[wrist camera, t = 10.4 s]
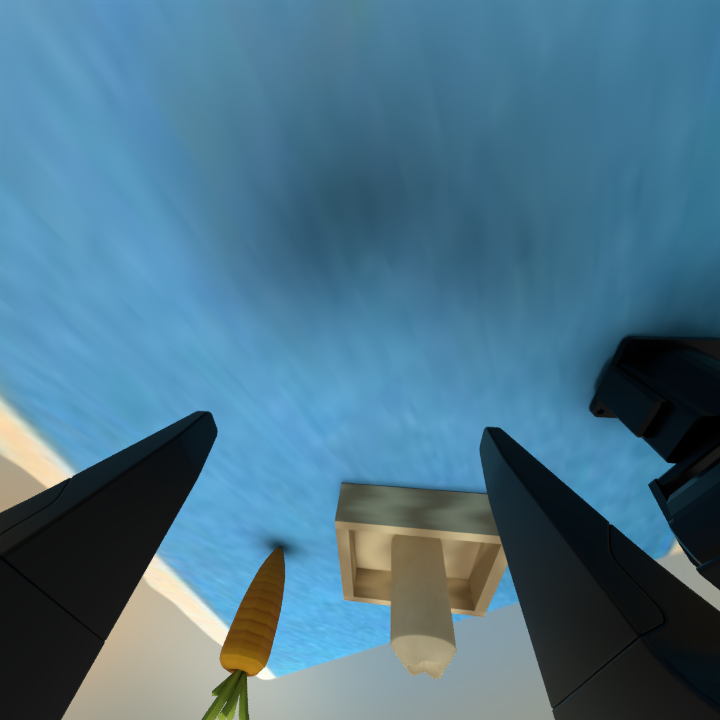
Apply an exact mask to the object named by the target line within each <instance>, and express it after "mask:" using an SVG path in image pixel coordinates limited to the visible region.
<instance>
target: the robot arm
mask: <svg viewBox="0 0 720 720" xmlns="http://www.w3.org/2000/svg"><path fill="white" fill-rule="evenodd" d="M632 343H634V344H633V345H632V346H630V345H631V344H632ZM598 410H599V411H598ZM590 412H591V413H592V414H593V415H594V416H595V417H607V418H618V419H619V420H620V421H621V422H622V423H623V424H624V425H625V426H626V427H627V428H628V429H629V430H630V431H631V432H632V433H633V434H634V435H635V436H637V437H640V438H643V439H644V440H645V441H646V442H647V443H648V444H649V445H650V446H651V447H652V448H653V449H654V450H655V451H656V452H657V453H658V454H659V455H660V456H661V457H662V458H663V459H664V460H665V461H666V462H667V463H676V464H675V465H674V466H673V467H672V468H670V469H669V470H668V471H667V472H666V473H664V474H663V475H662V476H661V477H660V478H658V479H654V480H653V481H652V482H651V483H649V484H648V486H649V488H650V490H651V491H652V493H653V495H654V497H655V499H656V501H657V503H658V505H659V507H660V509H661V510H662V512H663V514H664V516H665V518H666V520H667V522H668V524H669V527H670V529H671V531H672V532H673V534H674V535H675V537H676V539H677V541H678V543H679V545H680V546H681V548H682V549H683V551H684V552H685V554H686V555H687V557H688V558H689V560H690V561H691V562H692V564H693V565H695V566H696V567H697V568H696V570H697V571H698V572H699V574H700V575H702V576H703V577H704V578H705V579H706V580H708V581H709V582H710V583H712V584H713V585H714V586H715V587H716V588H718V589H719V590H720V338H687V337H640V336H632V337H628V338H626V339H625V340H623V342H622V343H621V345H620V347H619V349H618V351H617V353H616V355H615V358H614V360H613V362H612V364H611V366H610V368H609V370H608V372H607V374H606V376H605V378H604V380H603V383H602V385H601V387H600V389H599V391H598V393H597V395H596V397H595V399H594V401H593V403H592V405H591V408H590ZM217 432H218V431H217V427H216V424H215V421H214V418H213V416H212V414H211V413H210V412H209V411H196V412H194V413H192V414H191V415H189V416H187V417H185V418H183V419H181V420H179V421H177V422H175V423H173V424H171V425H170V426H168V427H166V428H164V429H162V430H160V431H158V432H156V433H154V434H152V435H150V436H149V437H147V438H145V439H143V440H141V441H139V442H137V443H135V444H133V445H131V446H129V447H128V448H126V449H124V450H122V451H120V452H118V453H116V454H114V455H112V456H110V457H108V458H107V459H105V460H103V461H101V462H99V463H97V464H95V465H93V466H91V467H89V468H87V469H86V470H84V471H82V472H80V473H78V474H76V475H74V476H73V477H72V478H68V479H66V480H64V481H63V482H61V483H59V484H57V485H55V486H53V487H51V488H49V489H47V490H45V491H43V492H41V493H39V494H37V495H35V496H34V497H32V498H30V499H28V500H26V501H24V502H21V503H19V504H17V505H15V506H13V507H11V508H9V509H7V510H5V511H3V512H1V513H0V720H61V719H62V717H63V715H64V714H65V712H66V710H67V708H68V707H69V705H70V703H71V701H72V699H73V698H74V696H75V694H76V693H77V691H78V689H79V687H80V685H81V684H82V682H83V680H84V678H85V677H86V675H87V673H88V671H89V670H90V668H91V666H92V664H93V663H94V661H95V659H96V657H97V656H98V654H99V652H100V650H101V648H102V647H103V645H104V643H105V640H106V639H107V638H108V636H109V634H110V632H111V630H112V629H113V627H114V625H115V623H116V622H117V620H118V618H119V616H120V615H121V613H122V611H123V609H124V608H125V606H126V604H127V602H128V601H129V598H130V597H131V595H132V594H133V592H134V590H135V588H136V586H137V585H138V583H139V581H140V579H141V578H142V576H143V574H144V572H145V571H146V569H147V567H148V565H149V564H150V562H151V560H152V558H153V557H154V555H155V553H156V551H157V549H158V548H159V546H160V544H161V542H162V541H163V539H164V537H165V535H166V534H167V532H168V530H169V528H170V527H171V525H172V523H173V521H174V520H175V518H176V516H177V514H178V513H179V511H180V509H181V507H182V505H183V504H184V502H185V500H186V498H187V497H188V495H189V493H190V491H191V490H192V488H193V486H194V484H195V482H196V481H197V479H198V477H199V475H200V473H201V471H202V468H203V466H204V464H205V462H206V459H207V457H208V455H209V453H210V450H211V448H212V446H213V444H214V441H215V439H216V437H217ZM480 457H481V462H482V468H483V473H484V478H485V484H486V489H487V495H488V499H489V503H490V507H491V510H492V514H493V517H494V520H495V524H496V527H497V530H498V533H499V537H500V540H501V543H502V547H503V550H504V553H505V556H506V560H507V563H508V566H509V570H510V573H511V576H512V579H513V583H514V586H515V589H516V593H517V596H518V599H519V602H520V606H521V609H522V612H523V615H524V619H525V622H526V625H527V629H528V632H529V635H530V638H531V642H532V645H533V648H534V651H535V655H536V658H537V661H538V665H539V668H540V671H541V674H542V678H543V681H544V684H545V688H546V691H547V694H548V697H549V701H550V704H551V707H552V708H553V710H552V711H553V715H554V718H555V720H720V611H719V610H717V609H716V608H715V607H713V606H712V605H711V604H710V603H708V602H707V601H706V600H704V599H703V598H702V597H700V596H699V595H698V594H696V593H695V592H694V591H693V590H691V589H690V588H689V587H688V586H686V585H685V584H684V583H682V582H681V581H680V580H679V579H677V578H676V577H675V576H674V575H672V574H671V573H670V572H669V571H667V570H666V569H665V568H663V567H662V566H661V565H660V564H658V563H657V562H656V561H655V560H653V559H652V558H651V557H650V556H649V555H647V554H646V553H645V552H644V551H643V550H641V549H640V548H639V547H638V546H637V545H636V544H634V543H633V542H632V541H631V540H630V539H628V538H627V537H626V536H625V535H624V534H623V533H621V532H620V531H619V530H618V529H617V528H616V527H614V526H613V525H611V524H610V525H609V522H608V521H607V520H606V519H605V518H604V517H603V516H602V515H600V514H599V513H598V512H597V511H596V510H595V509H593V508H592V507H591V506H590V505H589V504H588V503H587V502H585V501H584V500H583V499H582V498H581V497H580V496H578V495H577V494H576V493H575V492H574V491H573V490H572V489H570V488H569V487H568V486H567V485H566V484H565V483H563V482H562V481H561V480H560V479H559V478H558V477H556V476H555V475H554V474H553V473H552V472H551V471H550V470H548V469H547V468H546V467H545V466H544V465H543V464H541V463H540V462H539V461H538V460H537V459H536V458H535V457H533V456H532V455H531V454H530V453H529V452H528V451H526V450H525V449H524V448H523V447H522V446H521V445H519V444H518V443H517V442H516V441H515V440H514V439H513V438H511V437H510V436H509V435H508V434H507V433H506V432H504V431H503V430H502V429H501V428H499V427H486V428H485V429H484V431H483V435H482V439H481V443H480Z"/></svg>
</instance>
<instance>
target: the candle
mask: <svg viewBox="0 0 720 720" xmlns="http://www.w3.org/2000/svg"><path fill="white" fill-rule="evenodd" d="M390 644H391V647H392V648H393V650H394V652H395V653H396V655H397V656H398V657H399V659H400V660H401V661H402V663H403V665H404V666H405V668H407V670H408V672H409V673H410V674H411V675H413V676H414V675H417V674H420V673H422V672H425V673H427V674H428V675H429V676H431V677H432V678H434V679H439V678H441V677H442V674H443V672H444V671H445V669H446V667H447V666H448V664H449V663H450V662H451V660H452V658H453V657H454V655H455V653H456V644H455V636H454V629H453V622H452V614H451V607H450V600H449V592H448V585H447V578H446V571H445V563H444V556H443V549H442V544H441V541H440V539H439V538H430V537H419V536H409V535H398V534H396V535H395V536H394V537H393V539H392V544H391V636H390Z"/></svg>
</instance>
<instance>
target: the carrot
mask: <svg viewBox="0 0 720 720" xmlns="http://www.w3.org/2000/svg"><path fill="white" fill-rule="evenodd" d="M284 583H285V562H284V554H283V551H282V549H281V547H278V548H276V549H275V550H274V551H273V552H272V553H271V554H270V555H269V557H268V558H267V559H266V560H265V562H264V563H263V564H262V566H261V567H260V569H259V570H258V572H257V574H256V575H255V577H254V579H253V581H252V583H251V584H250V586H249V588H248V590H247V592H246V594H245V596H244V598H243V600H242V602H241V604H240V606H239V608H238V611H237V613H236V615H235V618H234V620H233V622H232V625H231V627H230V630H229V632H228V635H227V637H226V640H225V642H224V645H223V647H222V650H221V654H220V662H221V665H222V667H223V668H224V669H226V670H227V671H229V672H230V673H232V674H231V675H230V676H229V677H228V678H227V679H226V680H225V681H223V682H222V683H221V684H220V685H219V686H218V687H216V688H215V689H214V690H213V691H212V696H218V697H217V698H216V699H215V701H214V702H213V704H212V705H211V707H210V708H209V709H208V711H207V712H206V714H205V715H204V717H203V718H202V720H215V719H216V717H217V715H218V714H219V712H220V711H221V709H222V707H223V706H224V704H225V703H226V701H227V703H226V705H225V706H224V708H223V709H222V711H221V712H220V714H219V716H218V719H219V720H225V719H226V717H227V720H232V719H233V717H234V714H235V709H236V705H237V701H238V697H239V694H240V700H239V720H249V714H248V698H247V677H249V676H255V675H257V674H258V673H259V672H260V671H261V670H262V669H263V668H264V667H265V666H266V664H267V662H268V659H269V656H270V653H271V649H272V645H273V641H274V637H275V633H276V629H277V624H278V620H279V616H280V611H281V606H282V599H283V592H284Z"/></svg>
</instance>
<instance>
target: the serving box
mask: <svg viewBox="0 0 720 720" xmlns="http://www.w3.org/2000/svg"><path fill="white" fill-rule="evenodd" d="M335 527H336V536H337V544H338V553H339V562H340V570H341V579H342V588H343V596H344V600H347V601H356V602H364V603H372V604H380V605H389V606H391V544H392V539H393V537H394V536H395V535H396V534H398V535H409V536H419V537H430V538H439V539H440V541H441V544H442V549H443V556H444V563H445V571H446V578H447V585H448V592H449V600H450V607H451V613H455V614H463V615H471V616H480V617H484V615H485V613H486V611H487V609H488V606H489V604H490V602H491V600H492V597H493V595H494V593H495V591H496V589H497V586H498V584H499V582H500V580H501V578H502V575H503V573H504V571H505V569H506V567H507V564H508V563H507V560H506V556H505V553H504V550H503V547H502V543H501V540H500V537H499V533H498V530H497V527H496V524H495V520H494V517H493V514H492V510H491V507H490V503H489V499H488V495H487V494H478V493H465V492H452V491H439V490H427V489H414V488H401V487H388V486H375V485H362V484H349V483H342V485H341V490H340V496H339V501H338V506H337V512H336V517H335Z"/></svg>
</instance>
